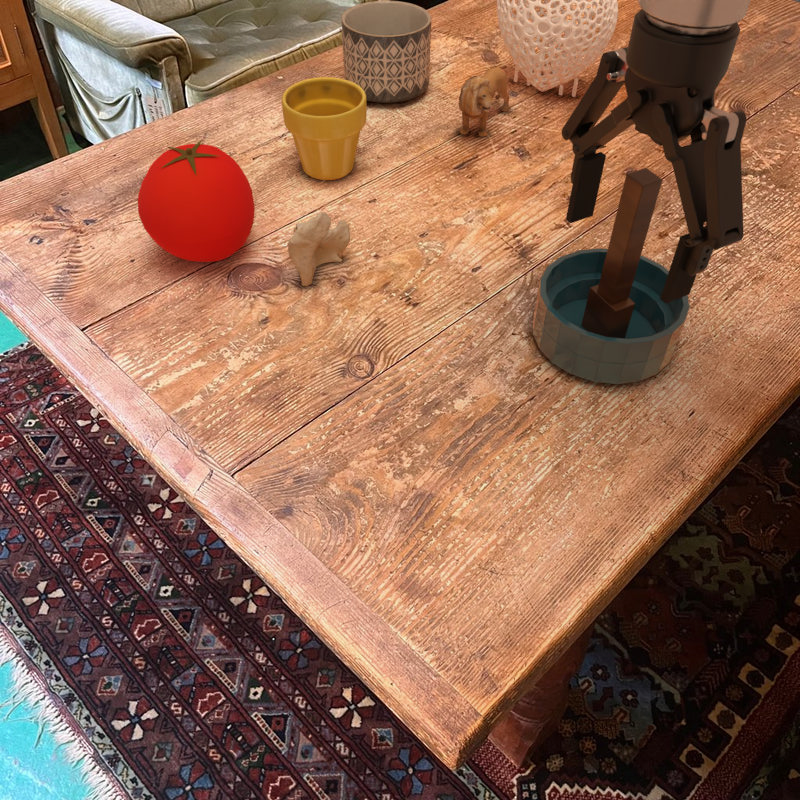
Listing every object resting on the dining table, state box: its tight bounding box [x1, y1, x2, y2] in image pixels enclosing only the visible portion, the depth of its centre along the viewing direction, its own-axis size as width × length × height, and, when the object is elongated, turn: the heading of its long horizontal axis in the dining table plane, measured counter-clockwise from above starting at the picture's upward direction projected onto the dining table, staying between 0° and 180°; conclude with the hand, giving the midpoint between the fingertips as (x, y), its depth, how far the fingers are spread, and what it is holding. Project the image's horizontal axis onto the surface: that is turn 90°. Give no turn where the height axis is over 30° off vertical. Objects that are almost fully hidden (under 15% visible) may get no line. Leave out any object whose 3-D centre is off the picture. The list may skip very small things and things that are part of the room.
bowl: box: [532, 247, 691, 385], centre depth 77 cm, size 14×14×6 cm
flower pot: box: [281, 76, 368, 181], centre depth 97 cm, size 10×10×10 cm
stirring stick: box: [581, 167, 663, 339], centre depth 72 cm, size 4×2×18 cm, turn 28°
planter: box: [340, 0, 432, 104], centre depth 112 cm, size 13×13×10 cm
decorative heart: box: [496, 0, 619, 98], centre depth 110 cm, size 18×11×17 cm, turn 53°
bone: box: [287, 211, 351, 287], centre depth 84 cm, size 9×6×10 cm
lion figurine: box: [458, 66, 510, 138], centre depth 106 cm, size 15×5×9 cm, turn 161°
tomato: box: [137, 139, 256, 263], centre depth 84 cm, size 12×12×13 cm
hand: (624, 255), depth 71 cm, fingers open, 13 cm apart
